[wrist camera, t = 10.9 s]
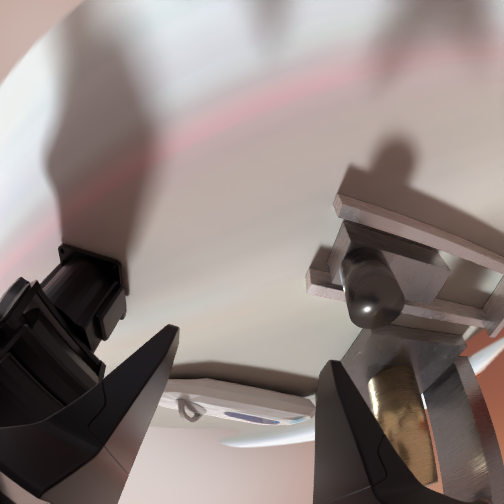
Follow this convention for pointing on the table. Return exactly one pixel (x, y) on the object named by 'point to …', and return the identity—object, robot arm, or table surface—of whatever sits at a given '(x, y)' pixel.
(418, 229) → the guide rail
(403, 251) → the sliding block with knob
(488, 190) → the table surface
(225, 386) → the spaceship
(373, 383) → the disc
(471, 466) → the press bed
